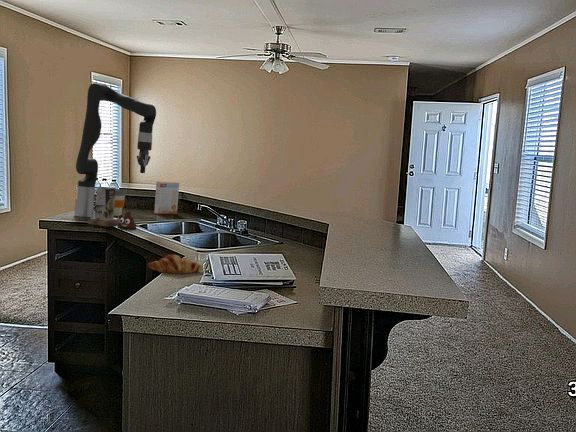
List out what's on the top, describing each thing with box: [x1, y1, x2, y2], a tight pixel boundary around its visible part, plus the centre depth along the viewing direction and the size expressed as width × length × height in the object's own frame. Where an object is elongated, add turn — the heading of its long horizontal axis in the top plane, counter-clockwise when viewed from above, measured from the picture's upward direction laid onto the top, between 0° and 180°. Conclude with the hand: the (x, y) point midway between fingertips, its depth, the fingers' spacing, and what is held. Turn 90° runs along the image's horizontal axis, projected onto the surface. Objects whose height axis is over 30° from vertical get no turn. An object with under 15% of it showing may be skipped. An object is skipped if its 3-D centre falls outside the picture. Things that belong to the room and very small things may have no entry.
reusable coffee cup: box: [113, 188, 127, 217], centre depth 359 cm, size 13×12×15 cm
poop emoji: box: [117, 210, 137, 230], centre depth 316 cm, size 10×8×9 cm
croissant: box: [147, 253, 204, 275], centre depth 226 cm, size 21×10×8 cm, turn 113°
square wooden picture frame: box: [87, 216, 121, 228], centre depth 320 cm, size 12×12×3 cm
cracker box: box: [153, 180, 180, 215], centre depth 386 cm, size 14×6×21 cm, turn 133°
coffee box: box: [94, 187, 116, 219], centre depth 319 cm, size 9×6×16 cm
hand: (142, 173), depth 324 cm, fingers closed
